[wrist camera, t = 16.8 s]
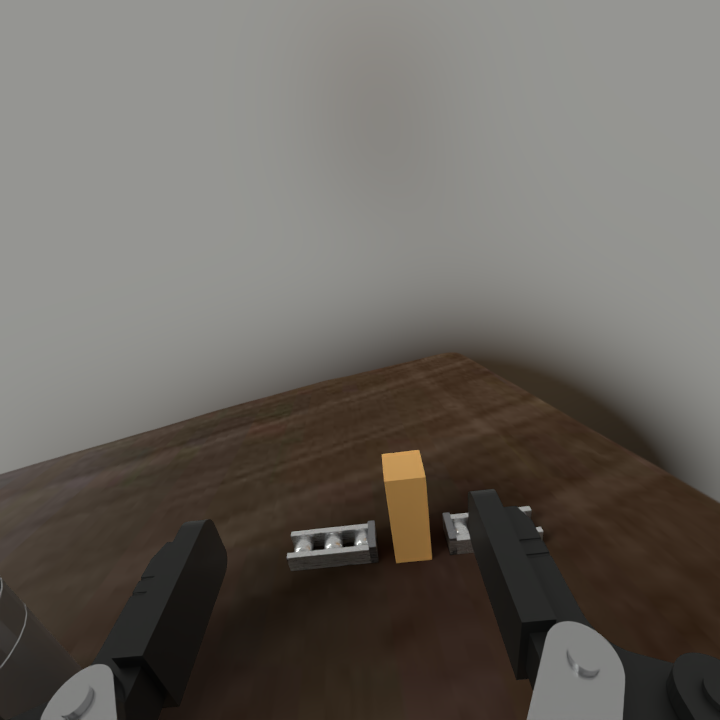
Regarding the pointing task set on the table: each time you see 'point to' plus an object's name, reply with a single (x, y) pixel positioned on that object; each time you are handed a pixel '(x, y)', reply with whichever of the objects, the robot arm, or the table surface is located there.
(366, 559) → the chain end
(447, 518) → the chain end
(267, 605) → the table surface
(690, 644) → the table surface
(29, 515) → the table surface
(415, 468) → the tall wooden pillar
